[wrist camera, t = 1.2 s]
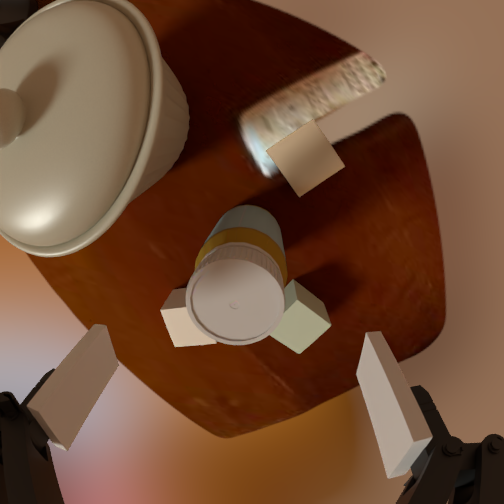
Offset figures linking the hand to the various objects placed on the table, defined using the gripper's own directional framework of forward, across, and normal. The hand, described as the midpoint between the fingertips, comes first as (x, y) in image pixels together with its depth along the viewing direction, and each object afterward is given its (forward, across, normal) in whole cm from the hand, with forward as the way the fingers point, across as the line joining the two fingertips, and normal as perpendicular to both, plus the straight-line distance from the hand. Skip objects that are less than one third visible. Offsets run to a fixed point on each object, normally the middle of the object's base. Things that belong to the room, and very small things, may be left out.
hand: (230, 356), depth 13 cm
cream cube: (+20, -7, -8) cm, 22 cm away
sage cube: (+20, +5, -8) cm, 22 cm away
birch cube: (+19, +5, +9) cm, 22 cm away
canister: (+19, -12, +13) cm, 26 cm away
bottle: (+20, 0, +1) cm, 20 cm away
